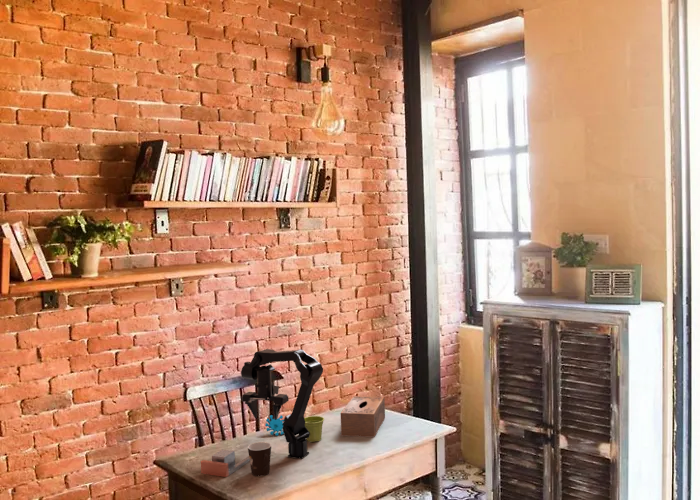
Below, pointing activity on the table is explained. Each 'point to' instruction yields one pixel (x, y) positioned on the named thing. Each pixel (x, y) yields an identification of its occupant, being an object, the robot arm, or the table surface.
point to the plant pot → (314, 427)
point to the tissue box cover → (362, 416)
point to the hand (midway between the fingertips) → (265, 418)
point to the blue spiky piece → (275, 425)
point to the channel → (220, 467)
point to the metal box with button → (225, 457)
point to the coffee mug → (260, 458)
